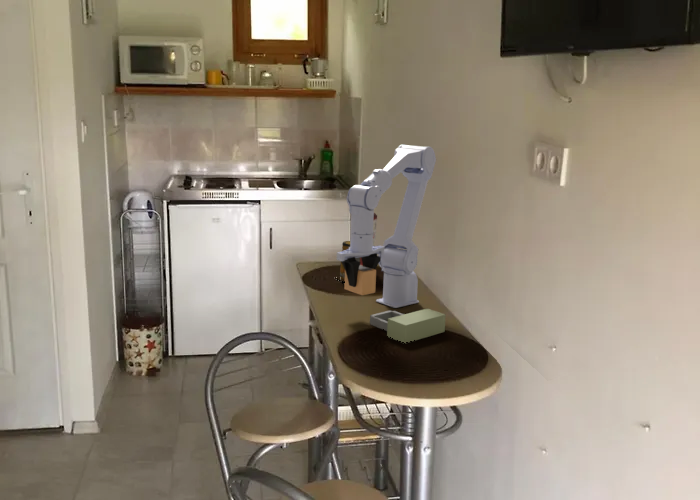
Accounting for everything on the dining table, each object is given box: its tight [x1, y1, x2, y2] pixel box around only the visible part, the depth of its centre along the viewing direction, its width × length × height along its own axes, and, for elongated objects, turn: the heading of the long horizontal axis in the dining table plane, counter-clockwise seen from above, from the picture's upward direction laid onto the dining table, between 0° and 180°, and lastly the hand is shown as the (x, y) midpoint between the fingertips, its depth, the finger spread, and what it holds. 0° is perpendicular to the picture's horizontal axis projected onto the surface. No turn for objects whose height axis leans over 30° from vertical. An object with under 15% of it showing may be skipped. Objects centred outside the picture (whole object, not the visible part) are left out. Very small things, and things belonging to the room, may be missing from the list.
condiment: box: [336, 240, 360, 283], centre depth 219 cm, size 7×8×12 cm
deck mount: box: [369, 307, 447, 344], centre depth 177 cm, size 14×16×4 cm
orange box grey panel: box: [343, 265, 377, 296], centre depth 183 cm, size 4×7×6 cm, turn 40°
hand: (359, 284), depth 183 cm, fingers closed on orange box grey panel, 4 cm apart
